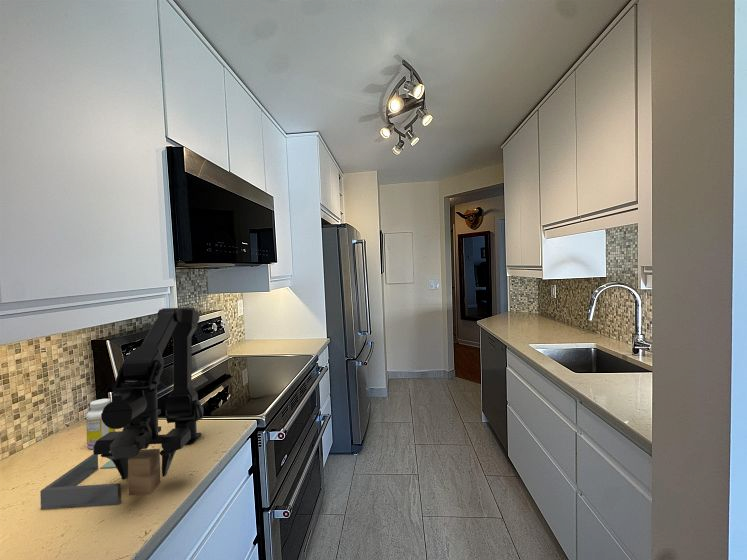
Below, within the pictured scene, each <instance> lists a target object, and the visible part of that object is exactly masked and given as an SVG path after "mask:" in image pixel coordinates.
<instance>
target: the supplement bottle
mask: <svg viewBox="0 0 747 560" xmlns="http://www.w3.org/2000/svg"><path fill="white" fill-rule="evenodd" d="M110 402H111V399H110V398H101V399H96V400H93V401H91V402H90V403H89V408H90V410H89V411H88V412H87V414H86V415H85V422H86V423H85V424H86V425H85V427H86V446H87V448H88V449H90V450H93V446H94V444H95V442H96V441H97V440H98V439H100V438H101V437H103V436H104V435H106V434H108V433H109V432H116V429H112V428H109V427H107V426H106V425H105V424H104V423H103V421H102V418H101V413H102V412H103V409H104V407H105V406H106V405H107V404H109V403H110Z"/></svg>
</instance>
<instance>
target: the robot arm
mask: <svg viewBox="0 0 747 560" xmlns="http://www.w3.org/2000/svg"><path fill="white" fill-rule="evenodd" d="M199 320H200V313H199V311H198V310H196V308H195V307H167V308H166V307H165V308H163V307H162V308H159V310H158V311H157V317H156V319H155V321H154V323H153V324H152V326H151V328H150V330H148V333H147V335H146V337H145V339H144V340H143V342H142V343H141V345H140V346H138V347H137V348H135V349H133V350H131V351H130V353H129V354H128V355H127V356H126V357H125V359H124V360H123V362H122V363H121V365H120V367H119V370H118V374H117V375H116V379H115V381H114V384H113V387H112V393H114V394H112V395H111V401H110V403H109V404H107V405H106V406H105V407H104V409H103V412H102V413H101V418H102V421H103V423H104V424H105V425H106V426H107V427H109V428H112V429H115V430H119V431H115V432H109V433H108V434H106V435H104V436H103V437H101V438H100V439H98V440H97V441H96V442H95V444H94V446H93V449H92V454H94V455H98V456H99V455H100V457H101V458H107V459H109V460H112V461H113V463H114V464H115V466H116V468H115V469H117V471H118V473H119V475H120V478H121V477H122V479H121V480H127V479H126V478H127V476H128V459H129V458H133V457H135V456H136V455H137V454H138V453H139V451H140V450H144V449H148V448H149V446H150V445H161V449H162V450H160V457H161V476H162V478H165V477H166V476H167V475H168V472H169V469H170V466H171V463H172V461H173V459H174V456H175V454H176V452H177V451H178V450H181V449H182V448H183V447H184V446H185V445H192V444H194V443H195V442H196V441H197V440H198V439H199V438H200V436H201V435H202V432H197V431H198V430H197V422H198V421H199V420H202V419H203V418H204V407H203V405H202V404H201V403H202V402H201V401H200V400H199V394H198V391H197V390H196V389H195V387H194V386H193V384H192V377H193V376H192V373H193V372H192V366H193V365H192V337H193V335H194V333H195V332H196V330H197V329H198V326H199V325H198V323H199ZM171 337H172V342H173V343H172V347H173V349H172V350H173V352H172V355H173V356H172V357H173V359H172V360H173V362H172V364H173V365H172V366H173V367H172V369H173V370H172V371H173V372H172V373H173V374H172V376H173V378H172V379H173V380H172V383H173V384H172V389H171V392H170V393H169V394H168V396H166V397H165V398H166V399H165V407H164V414H165V418H166V423H167V424H171V423H173V424H174V428H172V429H171V430H170V431H168V432H167V433H166V434H160V432H162V426H161V425H159V415H161V413H162V411H161V410H162V409H160V408H158V407H159V405H158V385H160V384H161V381H160V379H161V376H162V373H163V371H164V365H165V361H164V359H163V358H164V357H163V353H164V351H165V349H166V347H167V344H168V343H169V340H170V339H171ZM120 429H122V430H121V431H120Z"/></svg>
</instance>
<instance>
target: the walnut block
mask: <svg viewBox="0 0 747 560" xmlns="http://www.w3.org/2000/svg"><path fill="white" fill-rule="evenodd" d="M160 452H161V450H160V448H149V449H148V448H147V449H141V450H140V451H139V453H138V454H137V455H136V456H135V457H133V458H129V459H128V481H127V482H128V496H136V495H137V496H139V495H150V494H151V493H152V492H153V491H154V490H155V489H156V488H157V487H158V485H159V484H160V483H161V455H160ZM155 487H156V488H155Z"/></svg>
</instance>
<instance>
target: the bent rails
mask: <svg viewBox="0 0 747 560" xmlns="http://www.w3.org/2000/svg"><path fill="white" fill-rule="evenodd" d="M97 470H99V455H94V454H93V453H92V454H91V455H89V456H88V457H86V459H84V460H82V461H81V462H80V463H78V464H77V465H75V466H74V467H72V468H71V469H70V470H68V471H67V472H65V473H64V474H62V475H60V476H59V477H58V478H56V479H55V480H53V481H52V482H51V483H49V484H48V485H46V486H45V487H44V488H42V489H41V490H40V492H39V493H40V494H39V495H40V510H41V511H42V510H55V509H58V510H59V509H71V508H72V509H73V508H86V507H98V506H99V507H100V506H112V505H113V506H114V505H115V506H118V505H119V504H120V503H121V502H122V483H104V484H88V485H85V484H83V485H79V484H81V483H82V482H83V481H84V480H86V479H87V478H88V477H90V476H91V475H92V474H93V473H95V472H96V471H97ZM120 479H121V480H123V479H122V477H121V476H120ZM127 479H128V476H127V478H126V479H125V480H127Z"/></svg>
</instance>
